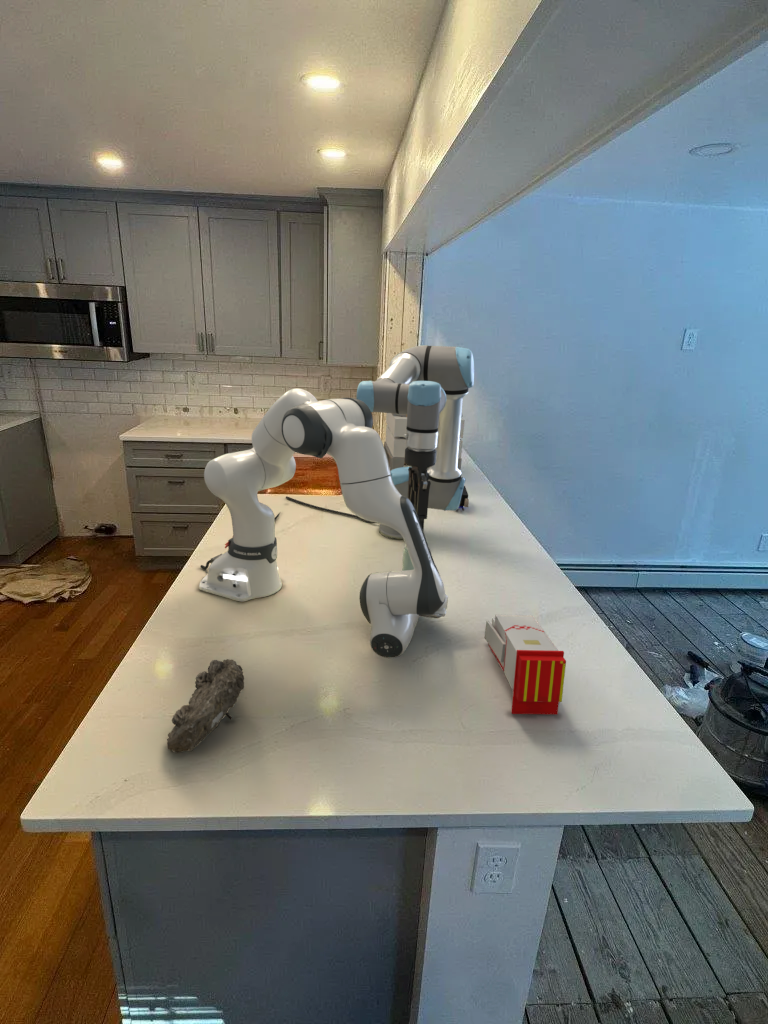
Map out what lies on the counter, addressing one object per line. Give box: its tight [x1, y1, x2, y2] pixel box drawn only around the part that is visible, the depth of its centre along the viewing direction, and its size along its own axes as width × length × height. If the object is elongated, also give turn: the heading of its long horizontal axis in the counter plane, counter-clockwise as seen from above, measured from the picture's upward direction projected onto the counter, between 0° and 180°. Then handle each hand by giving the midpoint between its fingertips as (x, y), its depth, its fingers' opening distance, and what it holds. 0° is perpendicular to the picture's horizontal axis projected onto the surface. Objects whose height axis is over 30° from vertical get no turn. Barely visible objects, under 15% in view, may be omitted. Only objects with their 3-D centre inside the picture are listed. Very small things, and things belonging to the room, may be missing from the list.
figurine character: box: [455, 485, 470, 512], centre depth 229 cm, size 7×8×15 cm
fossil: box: [166, 658, 245, 754], centre depth 106 cm, size 22×10×15 cm
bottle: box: [401, 546, 414, 571], centre depth 146 cm, size 5×5×22 cm
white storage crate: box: [383, 413, 465, 472], centre depth 268 cm, size 34×33×41 cm
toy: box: [484, 614, 567, 716], centre depth 124 cm, size 12×13×30 cm
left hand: (412, 585), depth 148 cm, fingers closed on bottle, 5 cm apart
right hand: (414, 538), depth 143 cm, fingers closed on cap, 4 cm apart
